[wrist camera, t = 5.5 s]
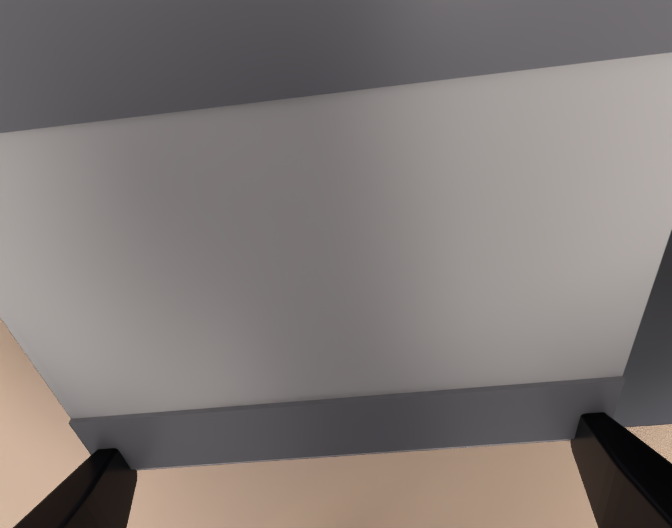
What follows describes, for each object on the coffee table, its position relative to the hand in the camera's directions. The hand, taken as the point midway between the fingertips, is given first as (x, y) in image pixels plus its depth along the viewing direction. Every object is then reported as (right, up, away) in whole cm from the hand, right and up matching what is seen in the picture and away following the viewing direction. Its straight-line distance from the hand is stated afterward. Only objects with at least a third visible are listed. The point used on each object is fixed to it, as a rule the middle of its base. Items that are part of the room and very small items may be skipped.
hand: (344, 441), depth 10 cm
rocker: (-1, +4, -2) cm, 4 cm away
